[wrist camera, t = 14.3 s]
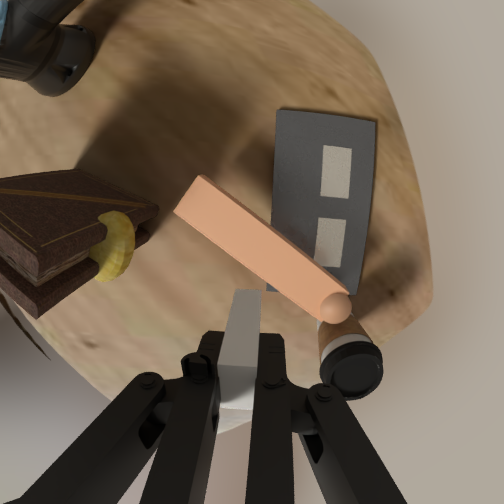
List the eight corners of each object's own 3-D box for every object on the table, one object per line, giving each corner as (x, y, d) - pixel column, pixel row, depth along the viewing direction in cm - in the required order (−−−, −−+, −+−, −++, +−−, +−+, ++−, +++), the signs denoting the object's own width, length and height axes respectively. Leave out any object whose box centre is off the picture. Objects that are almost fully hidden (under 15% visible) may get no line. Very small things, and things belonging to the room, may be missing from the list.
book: (62, 204, 40) (-47, 240, 16) (74, 159, 38) (-45, 172, 14) (159, 256, 41) (59, 346, 18) (177, 207, 39) (64, 262, 15)
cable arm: (180, 208, 32) (172, 212, 29) (203, 174, 30) (197, 175, 28) (329, 320, 35) (333, 331, 32) (355, 293, 33) (361, 303, 31)
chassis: (276, 111, 34) (277, 99, 28) (372, 123, 33) (390, 116, 27) (266, 287, 42) (265, 308, 35) (354, 291, 41) (366, 312, 35)
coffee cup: (318, 346, 44) (331, 410, 30) (301, 308, 42) (313, 370, 28) (363, 328, 43) (391, 386, 28) (350, 287, 41) (382, 342, 26)
